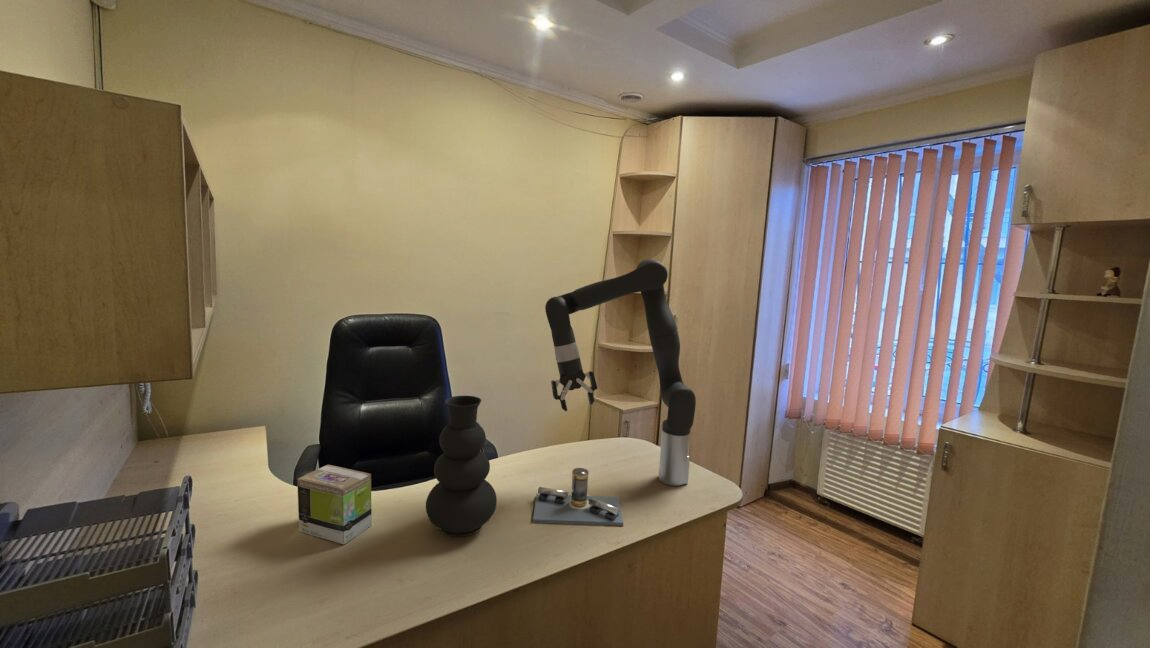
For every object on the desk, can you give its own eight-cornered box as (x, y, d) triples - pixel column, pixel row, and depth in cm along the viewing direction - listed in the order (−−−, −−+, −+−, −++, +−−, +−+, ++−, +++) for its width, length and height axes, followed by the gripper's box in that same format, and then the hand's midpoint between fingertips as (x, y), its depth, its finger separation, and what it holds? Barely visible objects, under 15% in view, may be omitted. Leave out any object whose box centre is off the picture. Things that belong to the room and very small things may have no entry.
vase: (423, 513, 131) (423, 392, 126) (489, 504, 138) (491, 389, 133) (428, 553, 114) (428, 414, 109) (502, 540, 121) (506, 409, 116)
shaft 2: (586, 514, 135) (587, 500, 134) (593, 508, 138) (593, 495, 137) (613, 525, 130) (614, 510, 129) (619, 519, 133) (620, 505, 132)
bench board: (618, 500, 143) (618, 496, 143) (623, 525, 130) (623, 521, 129) (536, 497, 143) (536, 493, 143) (533, 522, 129) (533, 518, 129)
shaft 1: (568, 502, 141) (569, 489, 140) (565, 508, 137) (566, 494, 137) (540, 497, 143) (540, 484, 142) (536, 503, 140) (537, 489, 139)
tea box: (373, 525, 125) (372, 472, 123) (343, 546, 115) (342, 490, 113) (329, 513, 129) (328, 462, 127) (297, 532, 120) (295, 478, 118)
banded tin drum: (584, 498, 141) (585, 467, 140) (588, 506, 137) (590, 474, 135) (568, 500, 140) (570, 468, 138) (573, 508, 135) (574, 475, 134)
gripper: (548, 364, 144) (559, 415, 145) (592, 353, 147) (602, 403, 148) (544, 362, 151) (555, 411, 152) (586, 352, 154) (596, 400, 155)
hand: (578, 407), depth 150 cm, fingers open, 8 cm apart
